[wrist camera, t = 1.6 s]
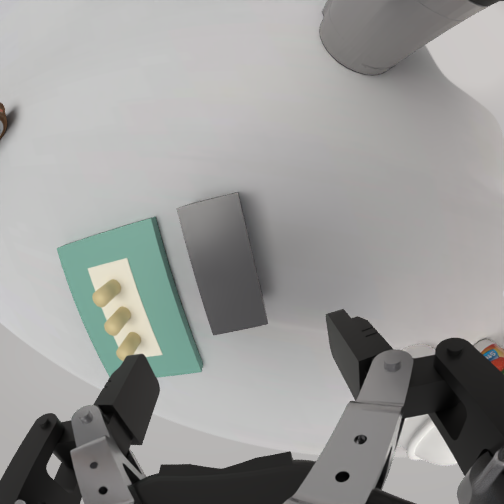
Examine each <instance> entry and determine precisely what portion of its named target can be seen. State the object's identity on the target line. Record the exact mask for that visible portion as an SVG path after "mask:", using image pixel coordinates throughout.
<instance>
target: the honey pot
mask: <svg viewBox="0 0 504 504" xmlns="http://www.w3.org/2000/svg"><path fill="white" fill-rule="evenodd" d="M402 350H403V351H406V352H408V353H409V354H410V355H411V356H412V358H420V357H425V356H430V355H435V350H434V349H433V348H432V347H430V346H428V345H424V344H417V345H412V346H408V347H406V348H404V349H402ZM397 446H399V447H402V448H404V449H405V450H407V455H408V458H410V459H412V460H421V459H423V460H425V461H427V462H430V463H433V464H436V465H441V466H451V465H455V464H457V461H456V459H455V458H454V456H453V454H452V453H451V451H450V449H449V447H448V446H447V444H446V442H445V441H444V439H443V437H442V436H441V434H440V433H439V431H438V429H437V428H436V426H435V424H434V423H433V421H432V420H431V418H430V416H429V415H428V414H425V415H420V416H415V417H410V418H406V419H405V422H404V426H403V429H402V433H401V436H400V439H399V442H398V445H397Z"/></svg>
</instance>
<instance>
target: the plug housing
mask: <svg viewBox="0 0 504 504" xmlns="http://www.w3.org/2000/svg"><path fill="white" fill-rule="evenodd" d="M177 212H178V216H179V220H180V224H181V228H182V232H183V235H184V239H185V243H186V247H187V250H188V254H189V257H190V261H191V264H192V268H193V271H194V275H195V278H196V282H197V285H198V288H199V292H200V295H201V298H202V302H203V305H204V308H205V311H206V314H207V317H208V321H209V324H210V327H211V330H212V333H213V335H218V334H223V333H228V332H233V331H238V330H243V329H248V328H252V327H257V326H261V325H266V324H268V321H267V316H266V312H265V307H264V302H263V297H262V293H261V288H260V284H259V280H258V275H257V271H256V267H255V262H254V258H253V254H252V250H251V245H250V241H249V237H248V232H247V228H246V224H245V220H244V215H243V211H242V207H241V202H240V198H239V194H238V192H236V193H232V194H228V195H224V196H220V197H216V198H212V199H208V200H204V201H200V202H196V203H192V204H189V205H185V206H182V207H179V208H177Z"/></svg>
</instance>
